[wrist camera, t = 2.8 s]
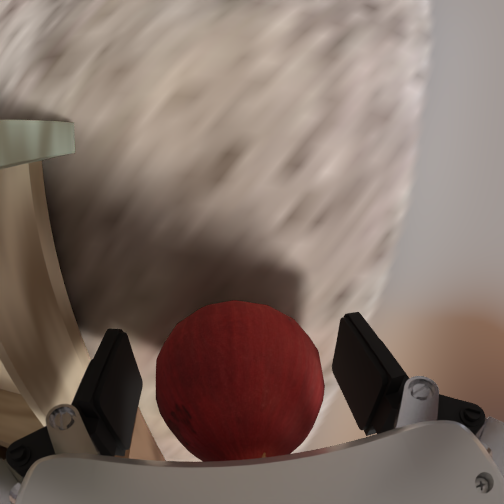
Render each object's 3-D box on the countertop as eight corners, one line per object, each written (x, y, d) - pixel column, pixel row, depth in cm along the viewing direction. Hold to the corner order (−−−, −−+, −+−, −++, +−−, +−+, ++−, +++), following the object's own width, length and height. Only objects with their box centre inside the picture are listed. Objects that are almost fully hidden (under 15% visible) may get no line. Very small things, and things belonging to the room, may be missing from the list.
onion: (223, 384, 14) (235, 523, 7) (142, 315, 12) (95, 474, 5) (317, 326, 14) (386, 467, 6) (245, 237, 11) (293, 399, 4)
